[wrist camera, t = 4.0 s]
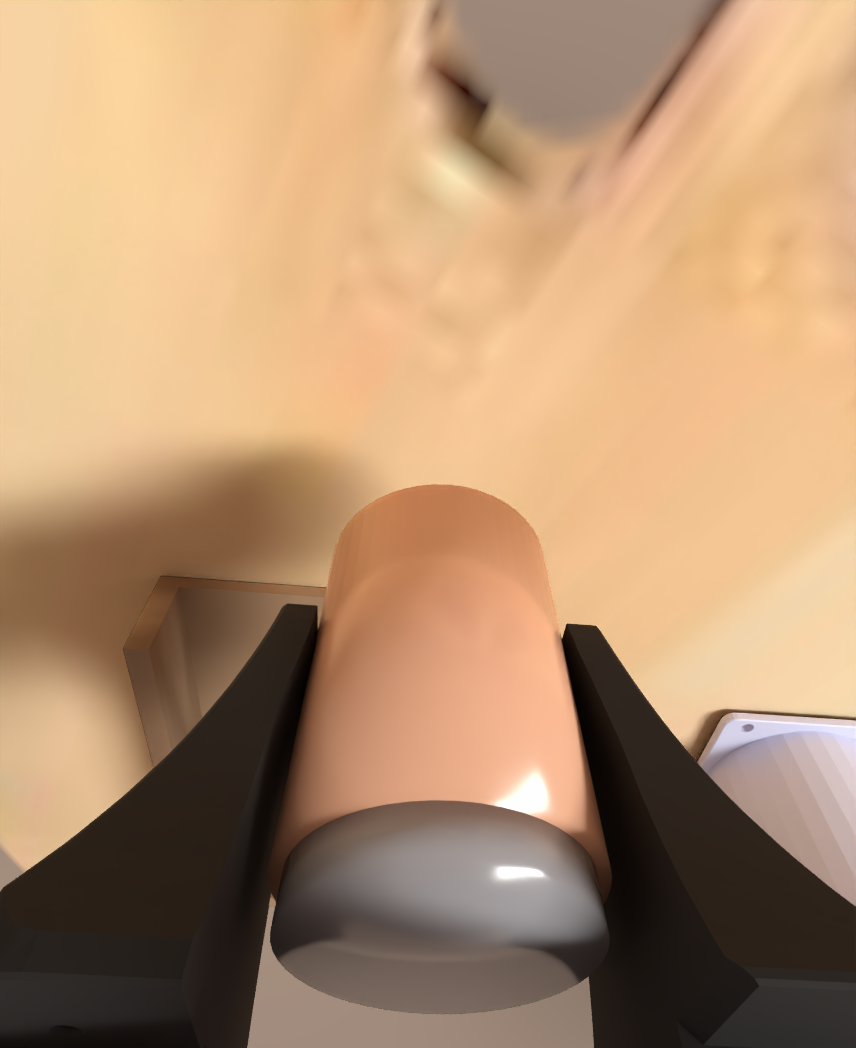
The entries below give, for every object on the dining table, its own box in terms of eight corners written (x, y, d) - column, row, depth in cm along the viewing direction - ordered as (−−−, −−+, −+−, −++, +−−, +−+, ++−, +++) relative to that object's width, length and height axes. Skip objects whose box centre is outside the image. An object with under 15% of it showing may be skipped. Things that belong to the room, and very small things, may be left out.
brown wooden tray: (511, 601, 24) (521, 675, 21) (458, 843, 34) (460, 916, 31) (160, 576, 23) (122, 648, 21) (210, 829, 33) (189, 902, 30)
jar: (564, 493, 14) (673, 866, 8) (524, 655, 17) (579, 1025, 11) (332, 475, 14) (241, 842, 7) (331, 642, 17) (265, 1011, 10)
